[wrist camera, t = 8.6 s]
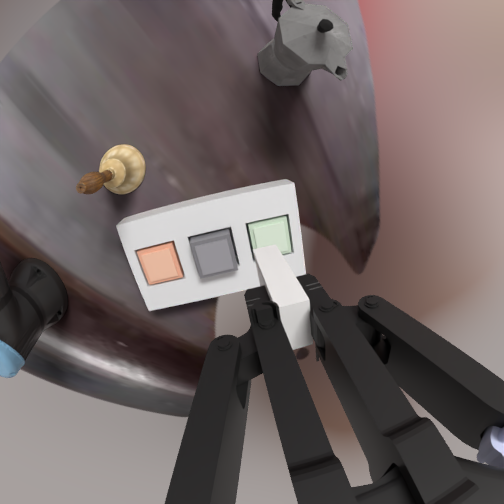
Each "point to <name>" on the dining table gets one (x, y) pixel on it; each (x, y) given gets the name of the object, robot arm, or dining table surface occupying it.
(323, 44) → the coffeepot
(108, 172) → the hand bell
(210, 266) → the charcoal key
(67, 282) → the dining table surface
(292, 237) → the white button panel
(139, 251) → the terracotta key
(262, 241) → the sage key
